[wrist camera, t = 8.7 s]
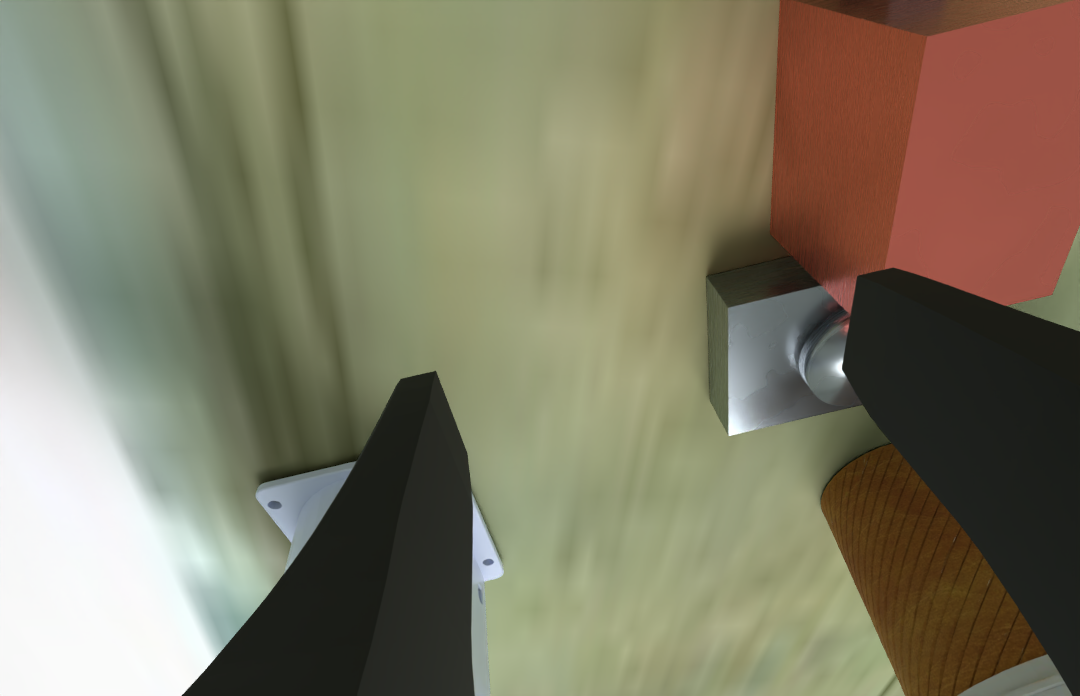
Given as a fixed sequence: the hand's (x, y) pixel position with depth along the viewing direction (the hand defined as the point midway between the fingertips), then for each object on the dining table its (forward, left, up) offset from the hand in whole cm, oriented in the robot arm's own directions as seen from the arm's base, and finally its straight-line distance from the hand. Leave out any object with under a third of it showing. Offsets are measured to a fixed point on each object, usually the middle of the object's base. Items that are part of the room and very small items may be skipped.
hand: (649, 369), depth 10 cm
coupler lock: (0, -9, -9) cm, 13 cm away
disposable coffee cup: (-19, -13, -10) cm, 25 cm away
